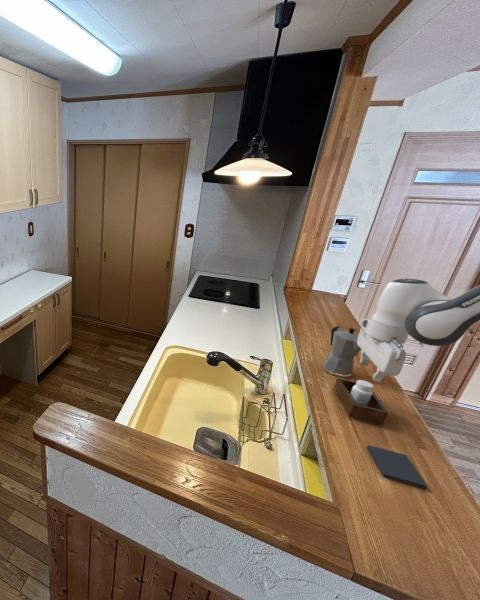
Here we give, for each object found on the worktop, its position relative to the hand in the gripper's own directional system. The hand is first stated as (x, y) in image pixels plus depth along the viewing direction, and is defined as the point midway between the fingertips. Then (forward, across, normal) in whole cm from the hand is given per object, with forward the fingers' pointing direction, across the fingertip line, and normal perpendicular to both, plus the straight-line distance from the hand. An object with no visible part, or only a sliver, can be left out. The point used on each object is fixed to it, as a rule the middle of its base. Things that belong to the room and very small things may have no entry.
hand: (369, 372), depth 99 cm
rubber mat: (+12, -26, 0) cm, 29 cm away
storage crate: (+12, 0, 0) cm, 13 cm away
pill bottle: (+13, 0, 0) cm, 13 cm away
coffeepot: (+13, +23, -1) cm, 27 cm away
